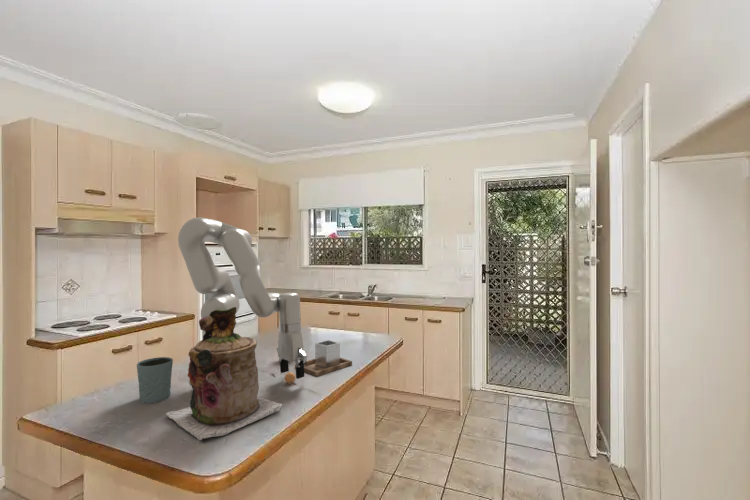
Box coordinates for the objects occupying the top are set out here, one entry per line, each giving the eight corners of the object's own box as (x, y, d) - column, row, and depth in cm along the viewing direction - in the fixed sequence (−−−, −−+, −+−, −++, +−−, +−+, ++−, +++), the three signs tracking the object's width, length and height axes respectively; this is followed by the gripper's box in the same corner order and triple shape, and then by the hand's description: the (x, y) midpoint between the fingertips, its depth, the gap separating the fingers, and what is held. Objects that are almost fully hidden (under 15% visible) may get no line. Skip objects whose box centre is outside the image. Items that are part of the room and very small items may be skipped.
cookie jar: (240, 391, 126) (239, 297, 125) (285, 411, 110) (284, 304, 110) (162, 417, 107) (161, 307, 106) (203, 446, 91) (201, 317, 91)
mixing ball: (288, 385, 130) (288, 375, 130) (282, 383, 133) (282, 372, 133) (297, 382, 133) (297, 372, 133) (291, 380, 136) (291, 370, 136)
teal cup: (132, 406, 114) (131, 367, 114) (143, 393, 124) (142, 358, 124) (168, 402, 117) (168, 364, 117) (176, 390, 127) (176, 355, 127)
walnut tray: (316, 379, 137) (316, 372, 137) (294, 370, 146) (294, 364, 146) (352, 367, 150) (352, 361, 150) (329, 360, 159) (329, 354, 159)
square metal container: (326, 369, 145) (326, 346, 145) (315, 365, 149) (315, 343, 149) (339, 365, 150) (339, 342, 150) (328, 361, 154) (328, 340, 154)
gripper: (268, 326, 136) (270, 372, 136) (295, 332, 124) (297, 383, 124) (285, 322, 141) (287, 367, 141) (313, 328, 130) (315, 376, 130)
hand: (292, 374), depth 133 cm, fingers open, 9 cm apart
